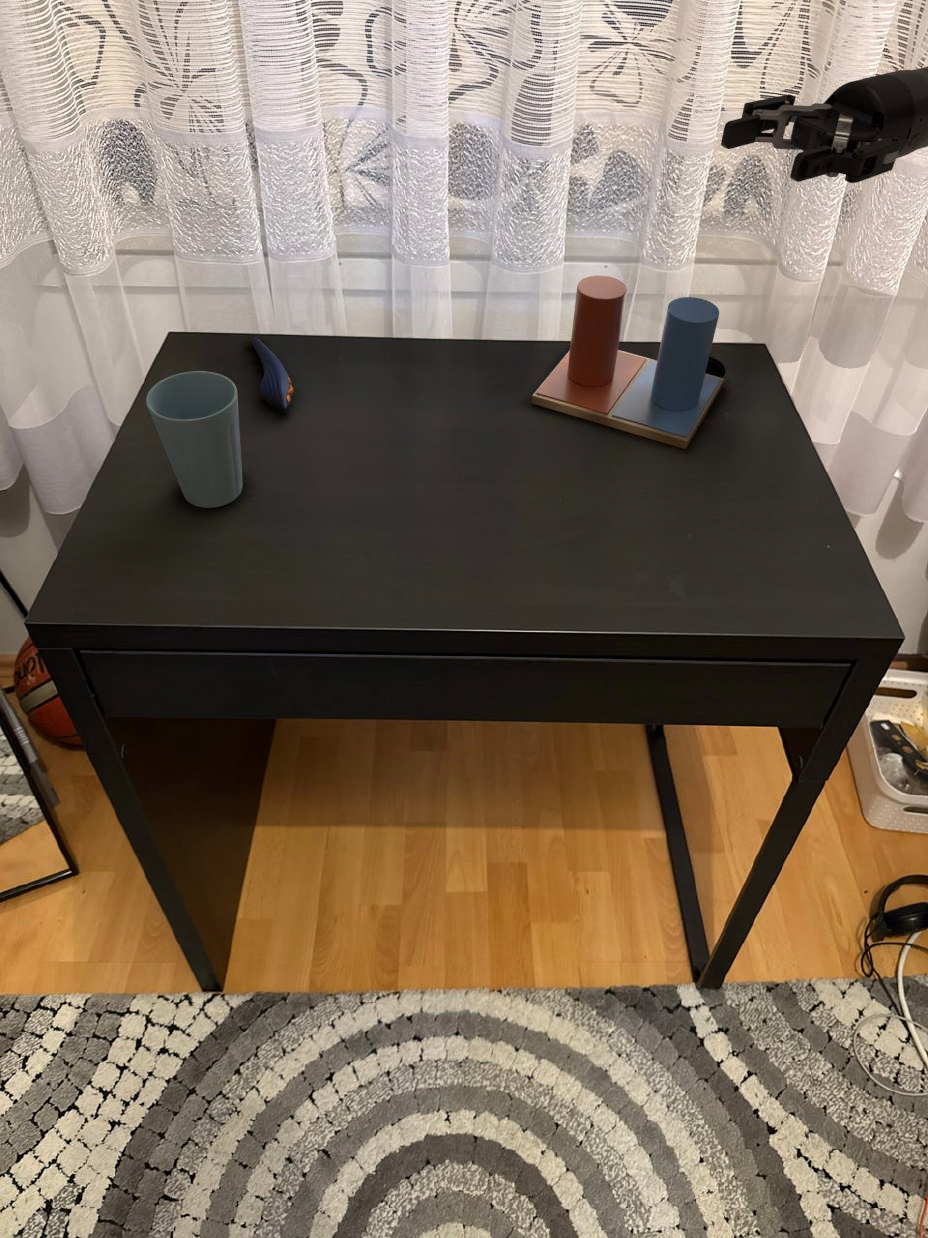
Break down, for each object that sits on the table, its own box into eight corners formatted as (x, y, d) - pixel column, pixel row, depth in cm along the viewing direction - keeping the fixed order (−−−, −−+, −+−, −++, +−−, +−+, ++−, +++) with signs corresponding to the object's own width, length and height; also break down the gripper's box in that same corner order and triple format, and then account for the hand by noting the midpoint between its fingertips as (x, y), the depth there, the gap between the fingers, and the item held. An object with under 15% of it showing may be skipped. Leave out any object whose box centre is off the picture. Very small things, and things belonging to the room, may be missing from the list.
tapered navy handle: (244, 355, 106) (236, 336, 104) (273, 344, 106) (265, 325, 104) (272, 424, 95) (264, 404, 93) (304, 411, 95) (296, 391, 94)
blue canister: (704, 392, 98) (725, 304, 91) (690, 416, 95) (710, 327, 88) (659, 379, 100) (676, 292, 93) (644, 402, 97) (660, 314, 90)
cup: (237, 455, 91) (218, 361, 84) (267, 499, 87) (250, 404, 79) (161, 479, 89) (134, 384, 81) (188, 526, 84) (163, 430, 76)
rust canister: (620, 369, 101) (634, 282, 94) (603, 391, 98) (616, 303, 91) (577, 357, 103) (588, 270, 95) (560, 379, 100) (569, 291, 92)
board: (722, 386, 101) (724, 377, 101) (685, 449, 93) (687, 440, 93) (577, 346, 106) (578, 337, 106) (531, 403, 98) (532, 394, 98)
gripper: (836, 53, 89) (712, 81, 83) (962, 97, 81) (834, 132, 75) (813, 136, 95) (695, 168, 89) (929, 185, 87) (808, 224, 81)
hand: (759, 151), depth 82 cm, fingers open, 8 cm apart
